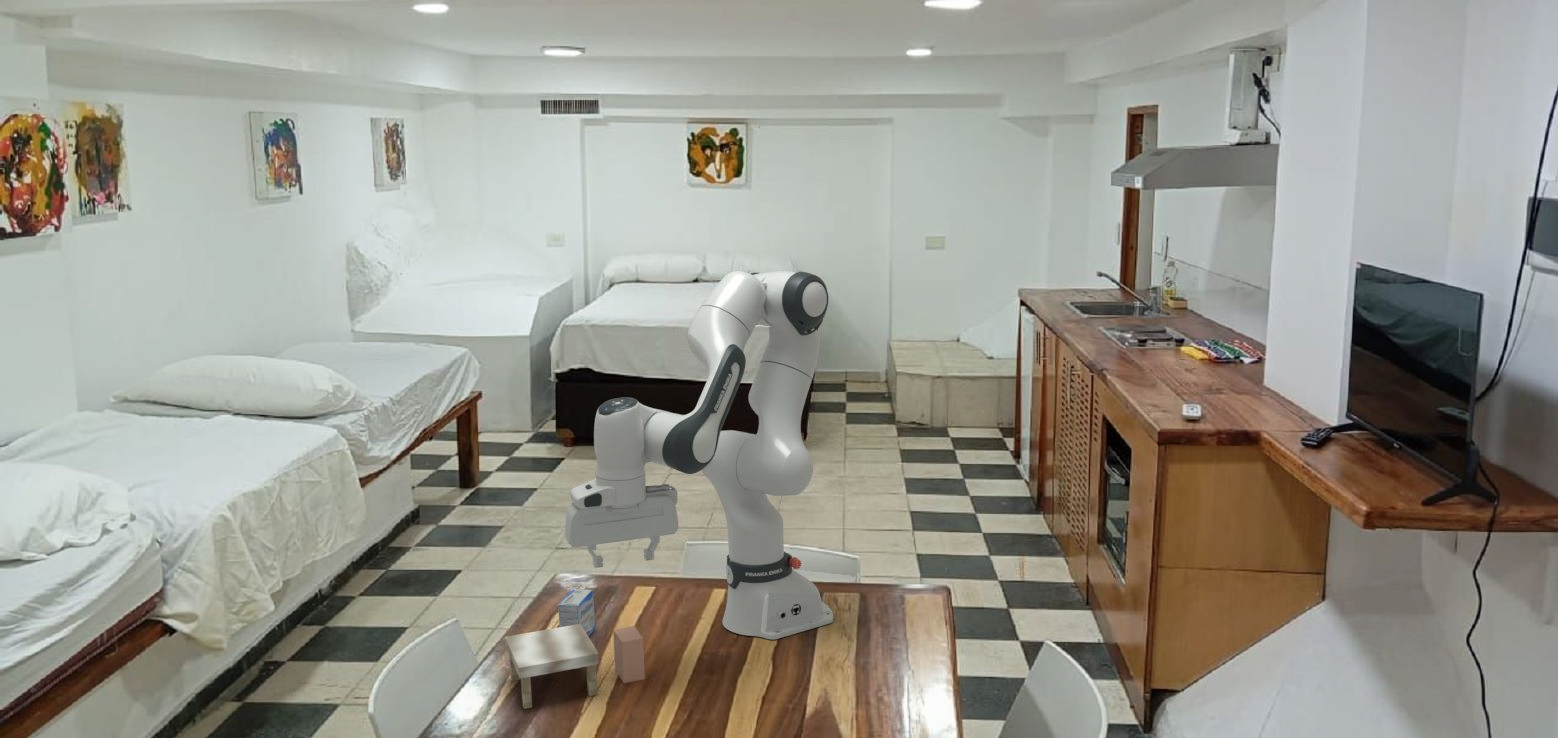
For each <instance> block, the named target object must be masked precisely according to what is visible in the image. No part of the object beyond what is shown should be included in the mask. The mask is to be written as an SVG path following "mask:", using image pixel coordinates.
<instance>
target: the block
mask: <svg viewBox="0 0 1558 738" xmlns="http://www.w3.org/2000/svg"><path fill="white" fill-rule="evenodd" d="M612 630H613V635H612V636H613V651H614V655H613V657H614V670H615V672H616V674H617V675H618V676H619V678H620V680H621V681H622V683H623V684H627V683H633V682H638V681H643V680H645V679H646V671H645V670H646V669H645V647H644V646H645V645H644V644H645V643H644V637H643V636H642V635H641V633H640V632H639V630H638V629H637V627H636V626H635V625H633V626H627V627H621V628H615V629H614V628H613V629H612Z"/></svg>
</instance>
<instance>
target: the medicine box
mask: <svg viewBox="0 0 1558 738" xmlns="http://www.w3.org/2000/svg"><path fill="white" fill-rule="evenodd" d="M557 606H558V607H557V608H558V623H559V624H558V625H559V627H565V626H571V625H576V624H581V626H582V627H583V629H584V631H585V632H586V634H587V635H588V637H589V638H590V637H591V635H592V634H593V633H594V632H595V630H596V623H595V622H596V621H595V619H596V618H595V603H594V591H593V590H592V589H582V588H579V589H578V588H577V589H576V588H575V589H572V590H571V591H570V592H569V593H568V594H567V595H566V596H565V597H564V598H563V599H562V600H561V601H560V602H559V603H558V604H557Z"/></svg>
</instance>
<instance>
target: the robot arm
mask: <svg viewBox="0 0 1558 738" xmlns="http://www.w3.org/2000/svg"><path fill="white" fill-rule="evenodd" d="M828 305H829V293H828V288H827V285H826V283H825V282H824V280H823V279H822V278H821V277H819V276H817V275H816V274H813V273H810V272H806V271H797V272H796V271H790V270H773V271H766V272H751V273H749V272H746V271H743V270H736V271H734V270H733V271H731V272H728V273H727V274H725V276H723V278H722V279H721V280H720V281H719V282H717V284H716V285H715V286H714V288H712V290H711V291H710V292H709V294H708V295H707V296H706V298H705V299H704V301H703V302H702V304H701V305H700V307H699V309H697V311H696V313H695V315H694V316H693V318H692V319H691V321H690V324H689V327H688V330H687V342H688V343H687V344H688V347H689V349H690V351H691V353H692V354H693V355H694V357H696V359H697V360H698V361H699V362H700V363H701V364H702V365H704V367H706V368H707V369H708V372H709V373H708V378H707V380H706V382H705V384H704V387H703V389H702V392H701V394H700V396H699V398H698V401H697V403H696V406H695V407H694V409H693V410H692V411H691V412H689V413H687V414H680V413H675V412H674V413H673V412H670V411H668V410H662V409H658V408H653V407H650V406H647V405H644V404H642V403H641V402H639V401H638V400H637V398H635V397H627V396H626V397H625V396H623V397H617V398H611V399H609V400H606V401H604V402H603V403H602V404H600V405H599V407H598V408H597V410H596V414H595V418H594V426H593V429H594V430H593V446H594V455H595V457H596V461H597V462H596V467H595V468H596V469H595V478H593V479H590V480H589V481H587V482H585V483H582V484H579V485H577V486H575V487H573V488H571V489H570V493H569V494H570V495H569V497H570V499H571V501H572V503H570V505H569V506H568V508H567V510H566V516H565V528H564V529H565V531H564V533H565V540H566V542H567V543H568V545H570V546H571V547H572V548H582V547H585V549H586V550H587V552H588V553H589V554H590V555H591V557H592V565H593V568H595V569H598V568H603V567H604V558H603V557H602V555H601V554H598V555H596V553H595V551H596V550H597V546H598V545H604V544H611V543H612V544H613V543H619V542H620V543H621V542H625V541H627V542H628V541H633V540H641V539H647V538H648V539H649V540H650V543H649V545H648V547H647V548H643V559H644V560H645V561H646V562H647V561H653V560H655V551H656V549H657V548H658V545H659V544H660V540H661V539H660V537H662V536H664V537H665V536H670V535H674V534H676V533H677V531H678V530H679V519H678V518H679V517H678V512H677V506H676V505H677V503H678V491H677V488H676V487H675V486H672V485H670V484H669V483H662V484H658V485H656V484H655V485H653V484H651V485H647V482H646V481H647V480H646V468H645V466H646V464H647V463H653V464H656V465H661V466H664V467H668V468H670V469H673V470H675V471H678V472H681V473H683V474H687V475H693V474H696V473H699V472H701V473H702V474H703V476H705V478H707V479H708V481H709V482H710V484H711V485H712V486H713V488H714V489H715V491H716V494H717V496H718V497H719V501H720V503H721V506H722V508H723V512H724V516H725V519H726V527H727V528H726V529H727V539H728V540H727V542H728V543H727V544H728V545H727V547H728V554H727V555H726V569H725V570H726V572H725V573H726V581H727V584H728V585H727V586H728V587H727V588H728V589H727V598H726V606H725V610H724V614H723V618H722V621H721V623H722V626H723V627H724V628H725V629H726V630H728V631H730V632H731V633H734V634H738V635H742V636H749V637H757V638H759V637H760V638H763V639H766V640H771V641H772V640H779V639H782V638H784V637H789V636H793V635H795V634H798V633H802V632H805V631H809V630H812V629H815V628H818V627H823V626H825V625H829V624H832V623H833V622H834V619H835V618H834V612H833V611H832V609H831V608H830V607H829V606H828V605H827V604H826V603H825V602H823V600H822V597H821V594H820V591H819V589H818V588H817V586H816V585H815V584H814V583H813V582H812V581H811V580H810V579H808V578H807V577H806V576H803V575H802V574H801V573H799V572H798V571H796V570H799V569H800V568H801V567H802V561H801V559H798V557H796V556H793V555H791V554H790V553H789V552H786V551H784V548H785V547H784V545H785V544H784V543H785V541H784V540H785V539H784V520H783V517H782V515H781V513H780V512H779V510H778V509H777V508H776V507H775V506H774V505H773V504H772V503H771V501H770V500H769V499H768V496H767V495H770V496H774V497H788V496H790V497H791V496H797V495H800V494H802V492H803V493H804V491H805V490H806V488H808V486H809V484H810V483H811V480H812V477H813V473H814V464H813V460H812V456H811V454H810V452H809V451H808V450H807V448H806V446H805V444H804V440H803V437H802V430H801V429H802V428H801V427H802V426H801V425H802V424H801V422H802V415H803V410H804V406H805V404H806V399H807V396H808V393H809V390H810V387H811V384H812V381H813V378H814V374H815V370H816V367H817V363H818V359H819V354H820V347H821V335H820V332H819V331H818V329H819V328H820V327H821V325H822V323H823V320H824V318H825V316H826V314H827V309H828ZM756 326H765V327H768V333H769V335H768V336H769V337H768V343H767V345H766V346H765V349H764V352H763V354H762V356H761V358H760V362H759V364H758V367H757V369H756V373H755V374H754V379H753V381H752V384H751V387H750V390H749V391H748V392H749V393H748V403H749V405H750V408H751V410H753V411H754V413H755V415H757V416H758V428H757V433H756V434H755V433H749V432H745V431H740V430H739V431H738V430H733V429H731V430H730V429H727V430H722V429H723V426H724V424H725V421H726V419H727V416H728V414H729V412H730V409H731V407H732V405H733V402H734V399H735V397H736V394H737V391H738V389H739V387H740V385H741V382H742V379H743V376H744V373H745V371H746V370H745V369H746V364H747V362H746V361H747V359H746V356H745V353H744V352H745V351H744V350H745V348H746V345H747V342H748V340H749V339H750V337H751V336H752V334H753V332H754V329H755V328H756Z"/></svg>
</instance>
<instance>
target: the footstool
mask: <svg viewBox="0 0 1558 738" xmlns="http://www.w3.org/2000/svg"><path fill="white" fill-rule="evenodd" d="M504 644H505V645H504V647H505V650H506V652H507V654H508V658H509V673H510V674H509V675H510V680H511V682H516V681H520V687H521V688H520V689H521V700H522V708H523V709H524V710H525V709H531V708H533V699H532V698H533V697H532V684H531V683H532V682H531V678H533V677H537V676H542V675H547V674H553V673H558V672H563V671H570V670H573V669H574V670H580V669H583V668H584V667H585V668H586V685H587V694H588V696H589V697H593V696H597V695H598V682H597V678H598V677H597V665H600V653H599V651H598V650H597V649H596V647H595V645H594V643H593V642H592V640H591V639H590V636H589V637H588V635H587V634H586V632H585V631H584V629H583V627H582V626H581V624H576V625H571V626H565V627H560V626H559V627H554V628H549V629H543V630H542V629H541V630H537V631H531V632H525V633H519V634H514V635H509V636H507V635H506V636H504Z"/></svg>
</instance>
